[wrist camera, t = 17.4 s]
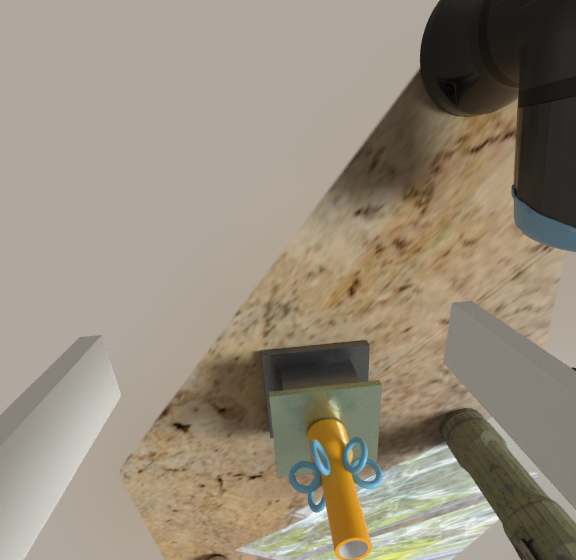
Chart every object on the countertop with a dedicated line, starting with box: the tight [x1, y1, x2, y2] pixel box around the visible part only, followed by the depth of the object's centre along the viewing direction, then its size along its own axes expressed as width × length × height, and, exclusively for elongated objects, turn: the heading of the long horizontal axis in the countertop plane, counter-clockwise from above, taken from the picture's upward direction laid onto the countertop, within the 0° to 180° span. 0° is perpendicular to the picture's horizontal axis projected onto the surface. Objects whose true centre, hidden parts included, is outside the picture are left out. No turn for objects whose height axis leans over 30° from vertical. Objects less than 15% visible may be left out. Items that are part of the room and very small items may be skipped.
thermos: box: [440, 408, 576, 560], centre depth 46 cm, size 9×12×35 cm
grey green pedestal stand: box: [261, 340, 382, 477], centre depth 52 cm, size 18×18×10 cm
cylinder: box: [289, 419, 382, 560], centre depth 40 cm, size 12×10×15 cm
